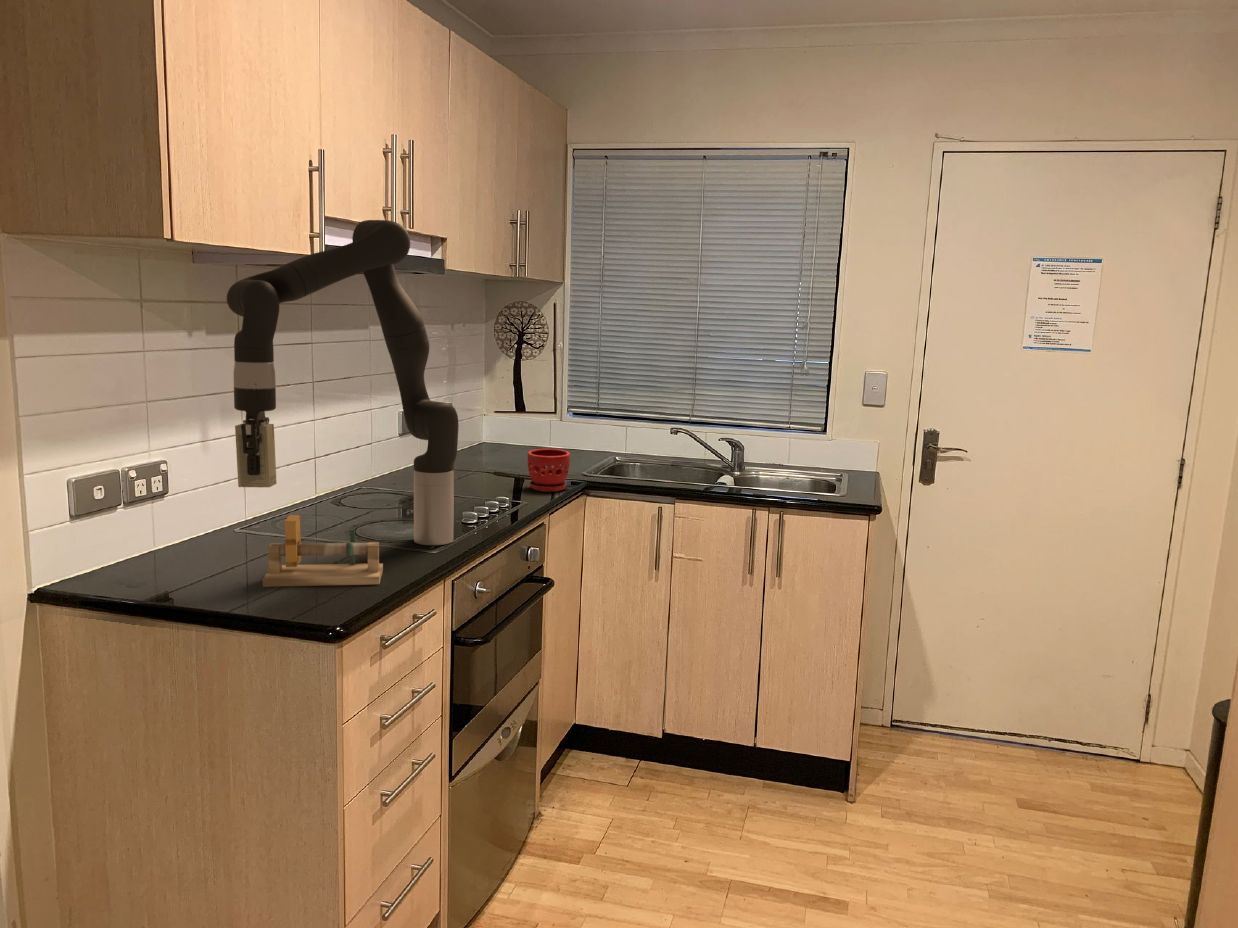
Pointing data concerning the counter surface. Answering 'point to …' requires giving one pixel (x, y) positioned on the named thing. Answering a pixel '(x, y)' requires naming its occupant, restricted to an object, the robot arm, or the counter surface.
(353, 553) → the pipe rig
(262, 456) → the skincare box
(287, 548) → the orange block
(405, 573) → the counter surface
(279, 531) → the counter surface
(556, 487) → the plant pot
